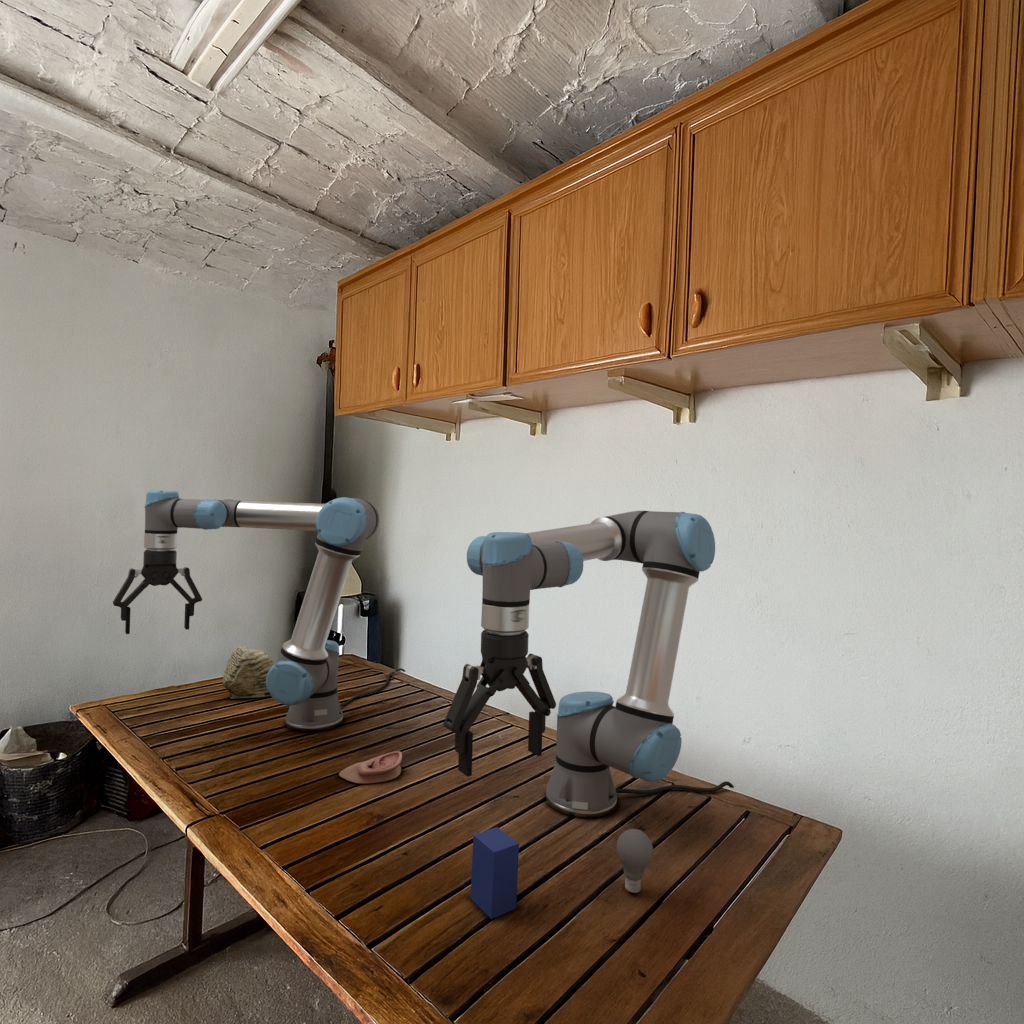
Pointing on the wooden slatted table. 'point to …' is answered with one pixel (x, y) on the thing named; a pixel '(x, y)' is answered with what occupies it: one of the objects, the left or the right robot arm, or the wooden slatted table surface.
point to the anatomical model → (374, 769)
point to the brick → (494, 872)
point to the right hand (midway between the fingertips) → (501, 762)
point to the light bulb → (634, 857)
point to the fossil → (247, 673)
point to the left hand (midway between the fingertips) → (157, 630)
